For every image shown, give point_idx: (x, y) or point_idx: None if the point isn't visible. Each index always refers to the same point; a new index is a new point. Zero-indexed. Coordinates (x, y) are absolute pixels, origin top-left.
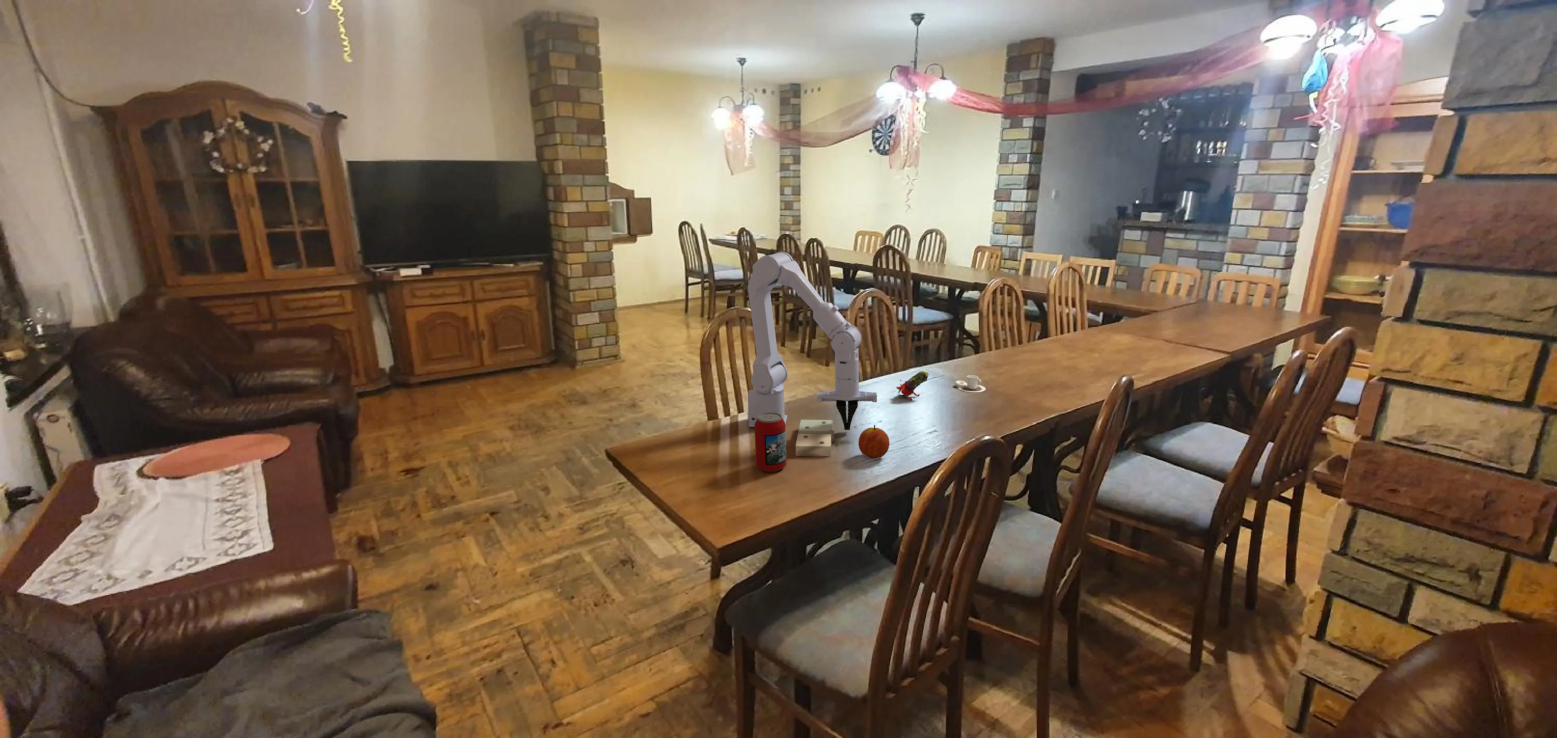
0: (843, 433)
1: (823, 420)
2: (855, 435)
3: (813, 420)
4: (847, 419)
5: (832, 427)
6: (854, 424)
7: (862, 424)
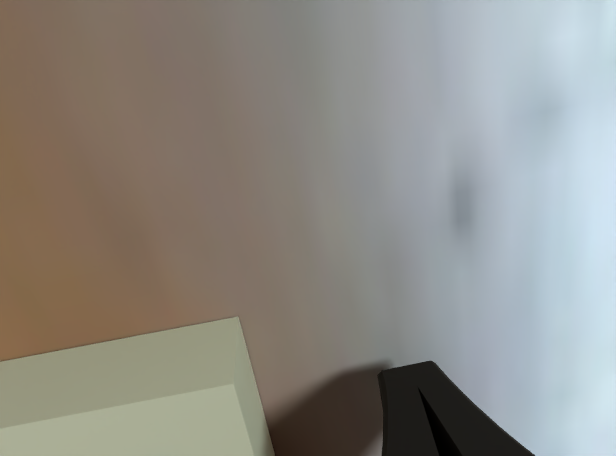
0: (366, 385)
1: (127, 421)
2: (477, 398)
3: (4, 449)
4: (438, 434)
5: (242, 350)
6: (454, 134)
7: (546, 113)
